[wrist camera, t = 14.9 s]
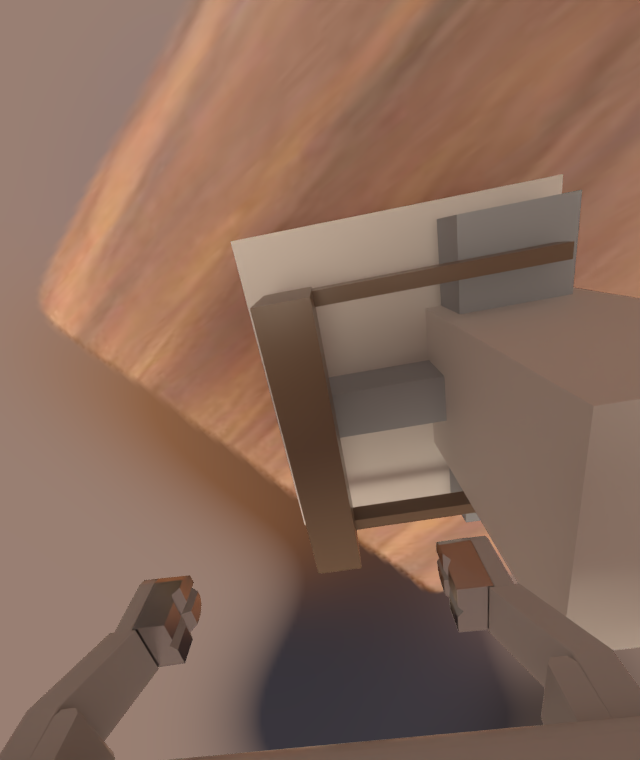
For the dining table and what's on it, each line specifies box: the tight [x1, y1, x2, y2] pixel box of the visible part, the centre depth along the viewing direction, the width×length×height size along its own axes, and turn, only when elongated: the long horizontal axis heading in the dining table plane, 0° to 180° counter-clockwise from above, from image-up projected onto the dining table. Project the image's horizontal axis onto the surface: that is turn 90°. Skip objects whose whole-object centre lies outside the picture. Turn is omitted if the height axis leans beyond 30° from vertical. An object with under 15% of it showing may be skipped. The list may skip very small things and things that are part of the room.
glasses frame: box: [250, 241, 575, 574], centre depth 19 cm, size 16×15×4 cm
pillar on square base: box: [231, 174, 640, 650], centre depth 20 cm, size 22×19×22 cm
